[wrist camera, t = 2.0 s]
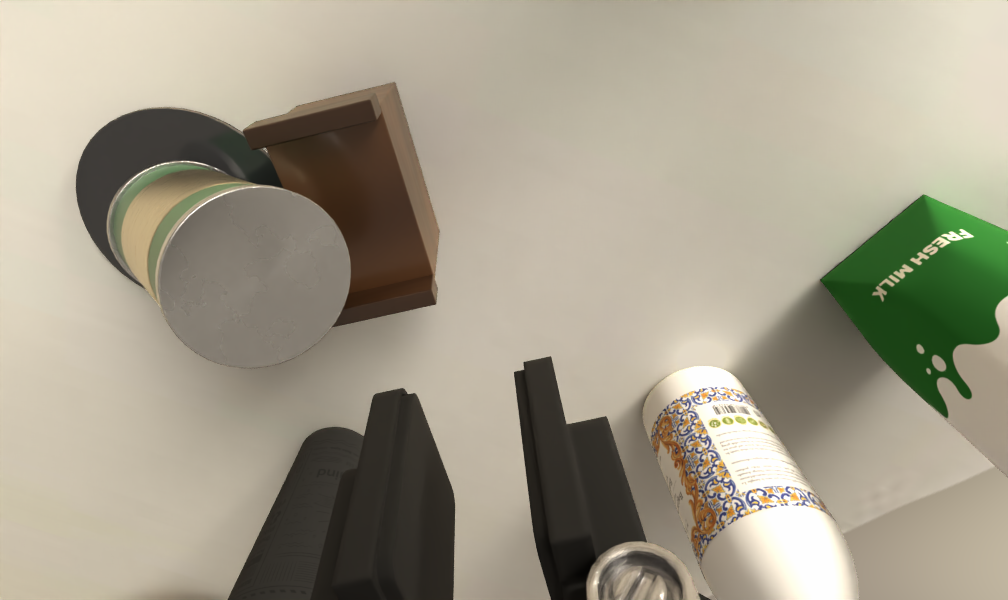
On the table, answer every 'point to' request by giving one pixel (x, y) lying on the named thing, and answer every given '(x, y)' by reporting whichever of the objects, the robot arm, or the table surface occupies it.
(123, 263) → the can
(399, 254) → the rest
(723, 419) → the bath foam
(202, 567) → the table surface
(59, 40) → the table surface
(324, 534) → the drinking cup
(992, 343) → the milk carton
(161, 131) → the coaster
